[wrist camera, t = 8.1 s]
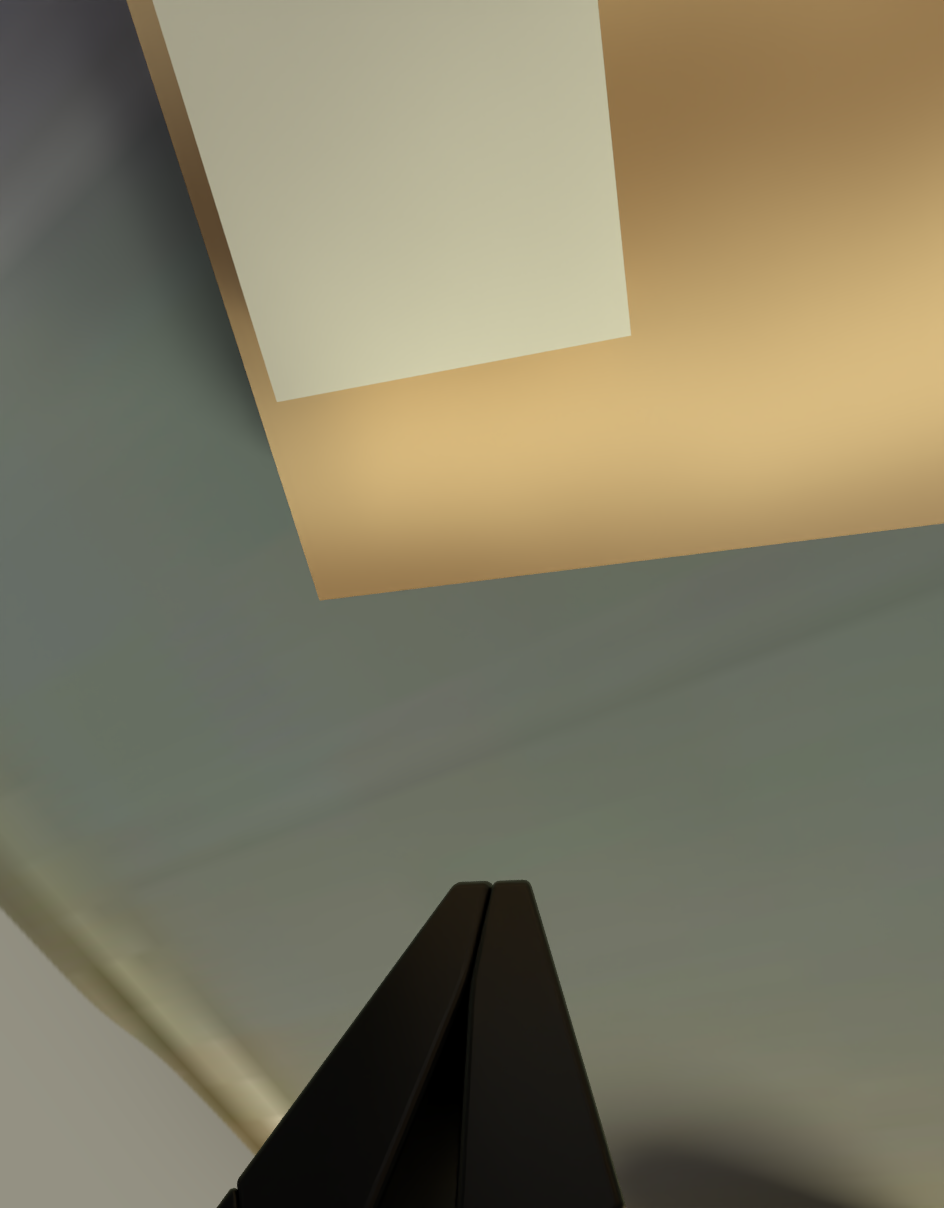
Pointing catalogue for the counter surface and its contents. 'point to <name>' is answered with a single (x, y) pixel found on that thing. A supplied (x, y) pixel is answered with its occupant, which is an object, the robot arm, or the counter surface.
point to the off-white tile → (406, 179)
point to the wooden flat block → (668, 322)
